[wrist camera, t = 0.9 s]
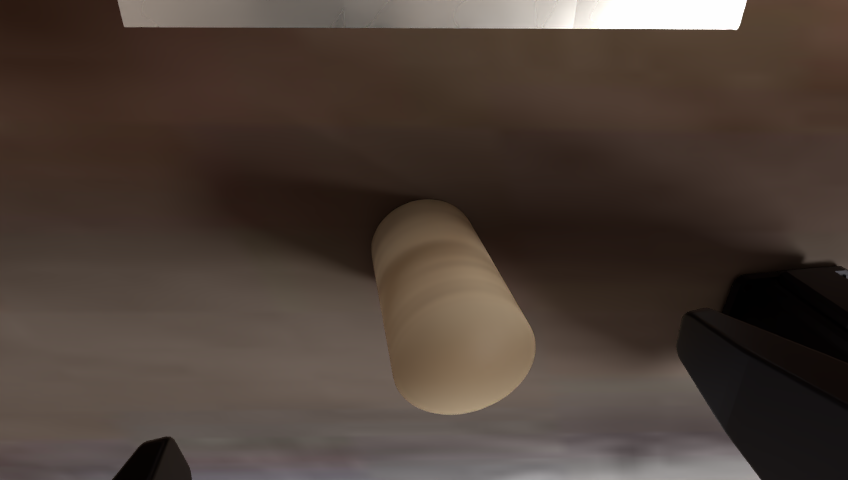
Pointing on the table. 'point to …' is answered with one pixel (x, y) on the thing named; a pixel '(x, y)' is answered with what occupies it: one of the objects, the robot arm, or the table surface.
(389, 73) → the table surface
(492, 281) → the birch peg
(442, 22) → the peg hole base
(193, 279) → the table surface
